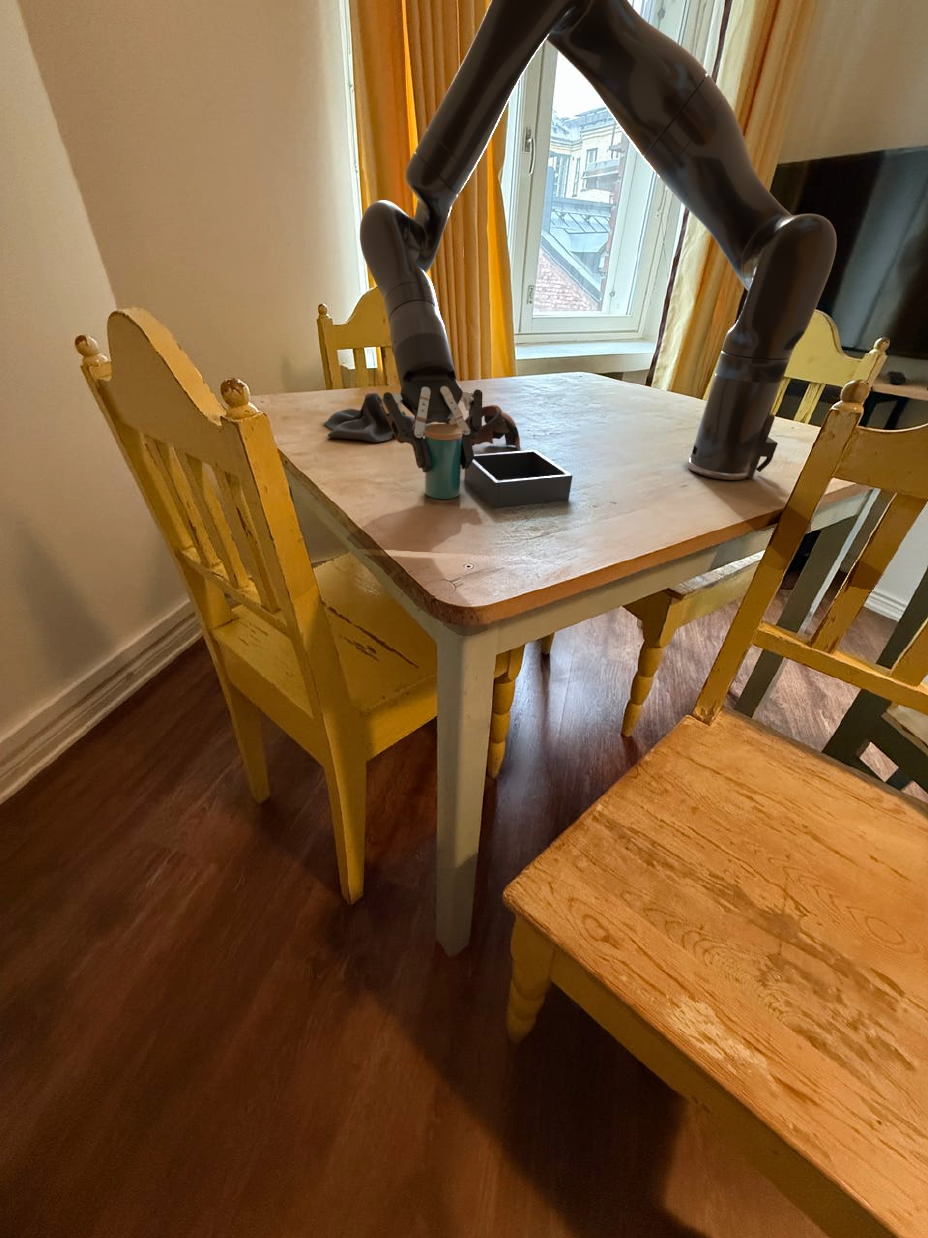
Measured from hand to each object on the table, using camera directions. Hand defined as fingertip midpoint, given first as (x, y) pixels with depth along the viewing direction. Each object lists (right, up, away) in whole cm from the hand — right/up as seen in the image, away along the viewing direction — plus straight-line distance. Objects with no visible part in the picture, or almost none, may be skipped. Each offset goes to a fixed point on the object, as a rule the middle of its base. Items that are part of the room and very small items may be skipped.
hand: (447, 467), depth 67 cm
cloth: (-14, +17, +31) cm, 38 cm away
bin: (+9, -2, +6) cm, 11 cm away
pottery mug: (+7, +10, +23) cm, 26 cm away
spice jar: (-1, -2, +4) cm, 4 cm away
